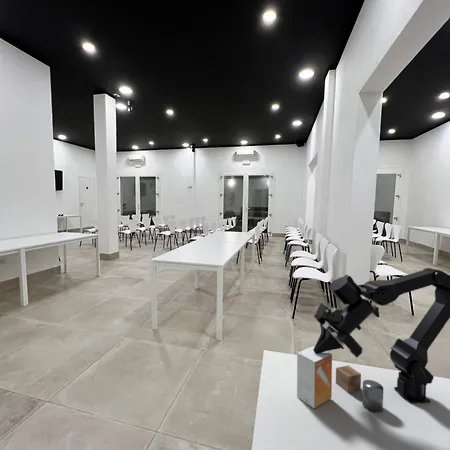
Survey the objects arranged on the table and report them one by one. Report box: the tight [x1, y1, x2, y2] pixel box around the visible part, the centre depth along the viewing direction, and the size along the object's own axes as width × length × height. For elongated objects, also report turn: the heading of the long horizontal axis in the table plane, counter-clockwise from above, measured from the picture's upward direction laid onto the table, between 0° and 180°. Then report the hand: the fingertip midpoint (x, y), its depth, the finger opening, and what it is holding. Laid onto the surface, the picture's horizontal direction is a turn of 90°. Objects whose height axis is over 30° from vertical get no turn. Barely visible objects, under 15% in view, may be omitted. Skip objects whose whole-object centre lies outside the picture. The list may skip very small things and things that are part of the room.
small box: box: [296, 345, 333, 409], centre depth 75 cm, size 8×6×13 cm
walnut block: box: [335, 364, 362, 394], centre depth 81 cm, size 5×5×5 cm
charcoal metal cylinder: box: [361, 379, 384, 414], centre depth 72 cm, size 5×5×6 cm
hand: (314, 352), depth 75 cm, fingers closed, pressing on small box
